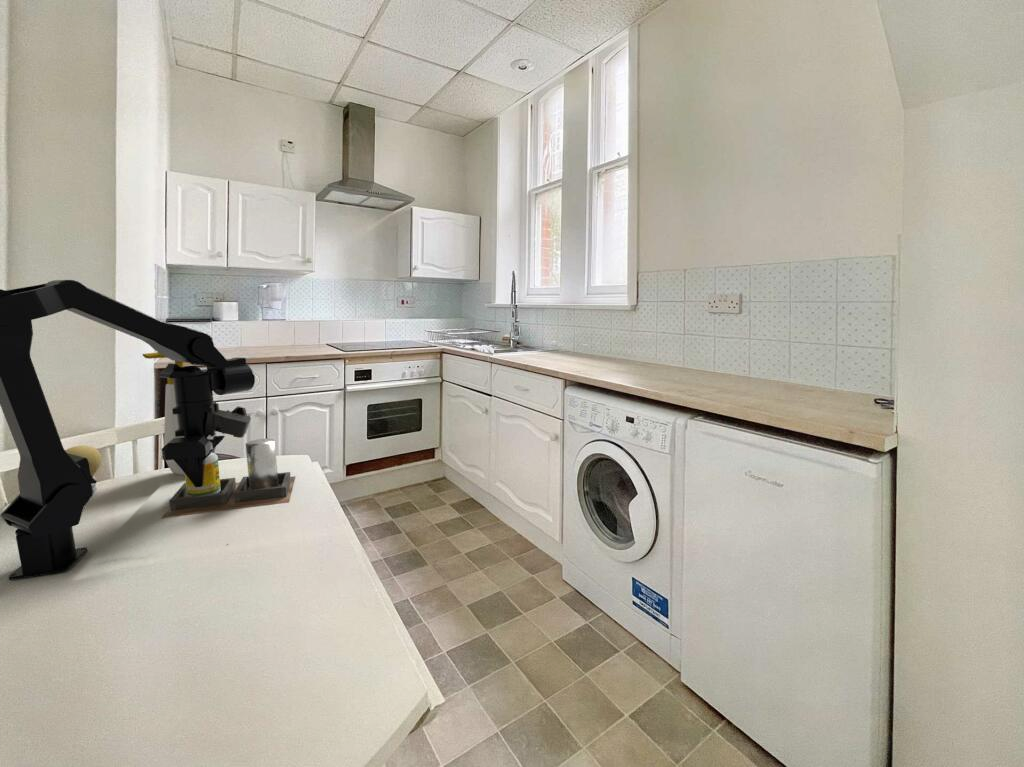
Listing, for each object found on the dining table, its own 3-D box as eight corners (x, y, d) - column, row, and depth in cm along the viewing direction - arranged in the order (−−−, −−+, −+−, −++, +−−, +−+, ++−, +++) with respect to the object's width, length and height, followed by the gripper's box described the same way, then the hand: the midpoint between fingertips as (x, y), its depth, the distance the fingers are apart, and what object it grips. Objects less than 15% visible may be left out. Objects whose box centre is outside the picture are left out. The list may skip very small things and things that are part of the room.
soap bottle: (147, 477, 103) (129, 345, 98) (199, 464, 111) (185, 342, 106) (172, 490, 96) (155, 348, 91) (225, 475, 104) (212, 345, 99)
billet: (277, 494, 90) (273, 444, 89) (247, 498, 89) (243, 447, 87) (280, 485, 95) (276, 437, 93) (252, 488, 93) (248, 440, 92)
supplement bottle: (185, 493, 89) (180, 444, 87) (218, 486, 92) (214, 439, 90) (188, 502, 84) (183, 451, 83) (223, 495, 88) (218, 445, 86)
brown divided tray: (289, 509, 87) (288, 491, 87) (161, 526, 80) (159, 507, 80) (296, 482, 100) (294, 467, 100) (186, 495, 93) (184, 478, 93)
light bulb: (85, 501, 90) (78, 451, 89) (53, 500, 90) (45, 451, 89) (114, 488, 97) (107, 441, 95) (84, 488, 97) (76, 441, 95)
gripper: (234, 407, 79) (242, 494, 82) (253, 388, 97) (259, 461, 99) (155, 411, 76) (166, 503, 78) (189, 391, 93) (197, 467, 95)
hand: (203, 481), depth 88 cm, fingers closed on supplement bottle, 5 cm apart
